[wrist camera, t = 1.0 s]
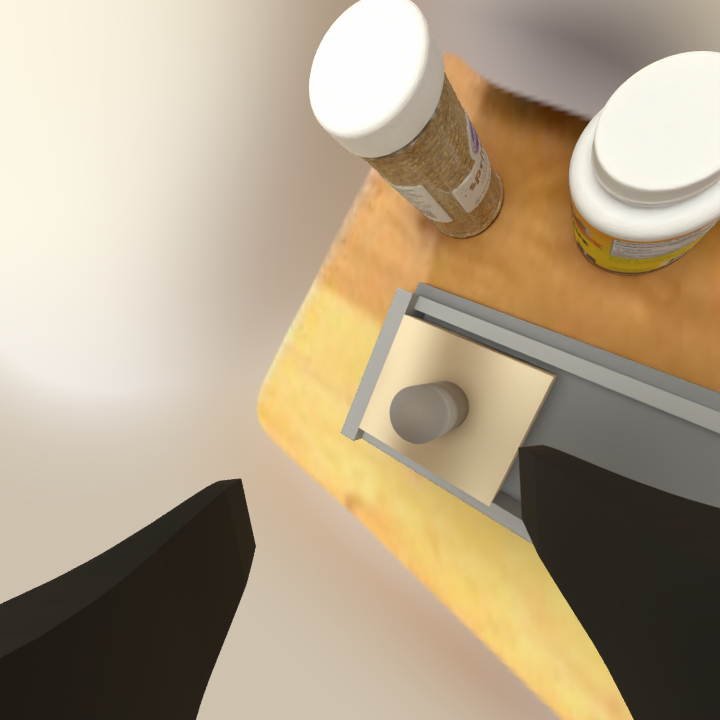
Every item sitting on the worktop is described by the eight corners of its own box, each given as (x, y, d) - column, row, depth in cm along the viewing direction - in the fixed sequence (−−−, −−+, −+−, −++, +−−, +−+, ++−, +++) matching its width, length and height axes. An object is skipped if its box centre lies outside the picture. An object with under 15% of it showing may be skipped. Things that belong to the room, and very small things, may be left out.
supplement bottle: (579, 175, 22) (576, 46, 13) (712, 160, 19) (824, -14, 10) (567, 278, 22) (555, 222, 13) (696, 278, 19) (792, 209, 10)
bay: (968, 486, 15) (1081, 523, 12) (802, 699, 18) (857, 783, 14) (424, 284, 26) (400, 272, 23) (364, 432, 28) (333, 442, 25)
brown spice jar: (518, 210, 23) (452, 58, 12) (450, 254, 25) (333, 163, 14) (482, 148, 24) (387, -49, 13) (419, 196, 26) (285, 64, 15)
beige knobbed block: (558, 374, 21) (546, 381, 15) (502, 486, 23) (468, 538, 16) (427, 319, 25) (369, 305, 18) (385, 419, 26) (318, 439, 20)
